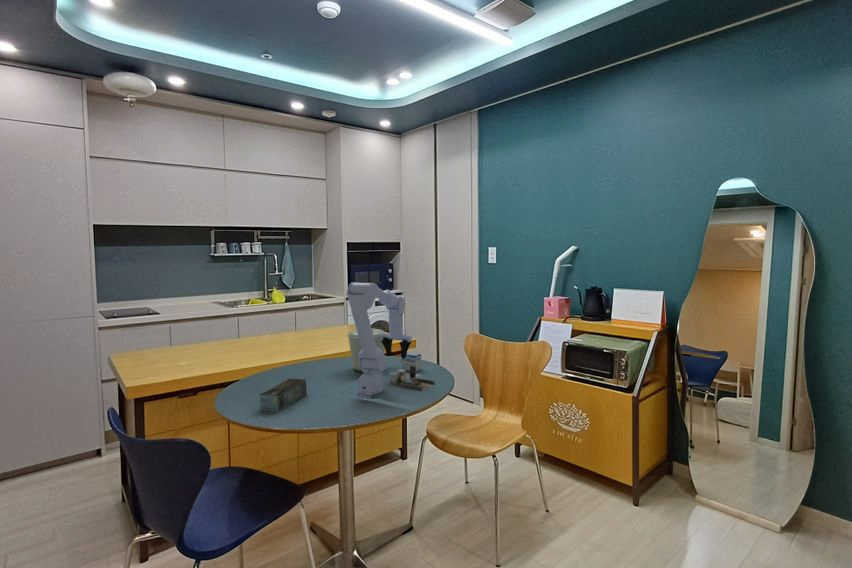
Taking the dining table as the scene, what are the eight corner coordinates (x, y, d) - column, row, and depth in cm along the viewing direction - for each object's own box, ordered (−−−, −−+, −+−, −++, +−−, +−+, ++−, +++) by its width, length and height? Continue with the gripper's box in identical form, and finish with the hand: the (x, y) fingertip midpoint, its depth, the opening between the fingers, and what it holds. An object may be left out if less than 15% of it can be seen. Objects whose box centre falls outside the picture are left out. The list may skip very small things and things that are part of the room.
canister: (353, 363, 220) (352, 320, 218) (390, 364, 218) (389, 320, 216) (343, 374, 202) (342, 327, 200) (383, 374, 200) (382, 327, 198)
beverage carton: (259, 410, 158) (258, 392, 157) (289, 393, 176) (289, 376, 176) (278, 412, 156) (278, 394, 155) (307, 395, 174) (307, 378, 174)
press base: (422, 394, 173) (422, 380, 172) (385, 387, 182) (385, 374, 181) (435, 387, 181) (435, 374, 181) (400, 381, 190) (399, 368, 190)
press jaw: (411, 386, 177) (410, 368, 176) (404, 385, 178) (404, 367, 178) (420, 381, 183) (420, 364, 182) (414, 380, 184) (414, 363, 184)
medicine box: (401, 372, 203) (401, 353, 202) (406, 370, 207) (406, 351, 206) (416, 375, 199) (416, 355, 198) (421, 372, 203) (421, 353, 202)
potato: (407, 385, 180) (406, 377, 180) (398, 383, 182) (398, 376, 182) (412, 382, 183) (412, 375, 183) (404, 380, 185) (404, 373, 185)
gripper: (415, 324, 187) (416, 357, 189) (387, 321, 195) (388, 352, 196) (406, 327, 181) (406, 360, 183) (377, 324, 189) (378, 356, 190)
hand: (396, 356), depth 189 cm, fingers open, 7 cm apart
